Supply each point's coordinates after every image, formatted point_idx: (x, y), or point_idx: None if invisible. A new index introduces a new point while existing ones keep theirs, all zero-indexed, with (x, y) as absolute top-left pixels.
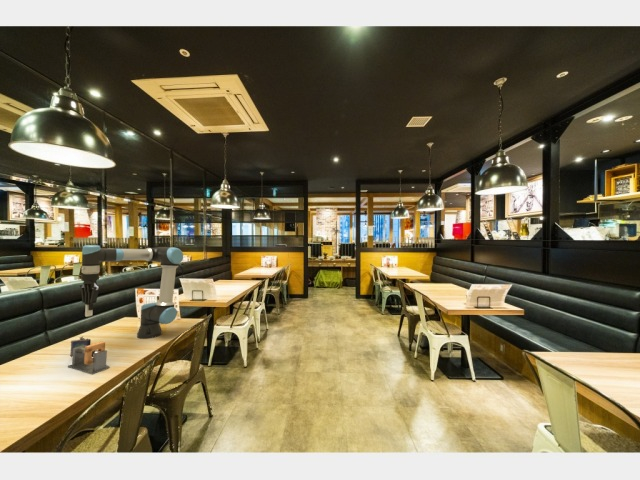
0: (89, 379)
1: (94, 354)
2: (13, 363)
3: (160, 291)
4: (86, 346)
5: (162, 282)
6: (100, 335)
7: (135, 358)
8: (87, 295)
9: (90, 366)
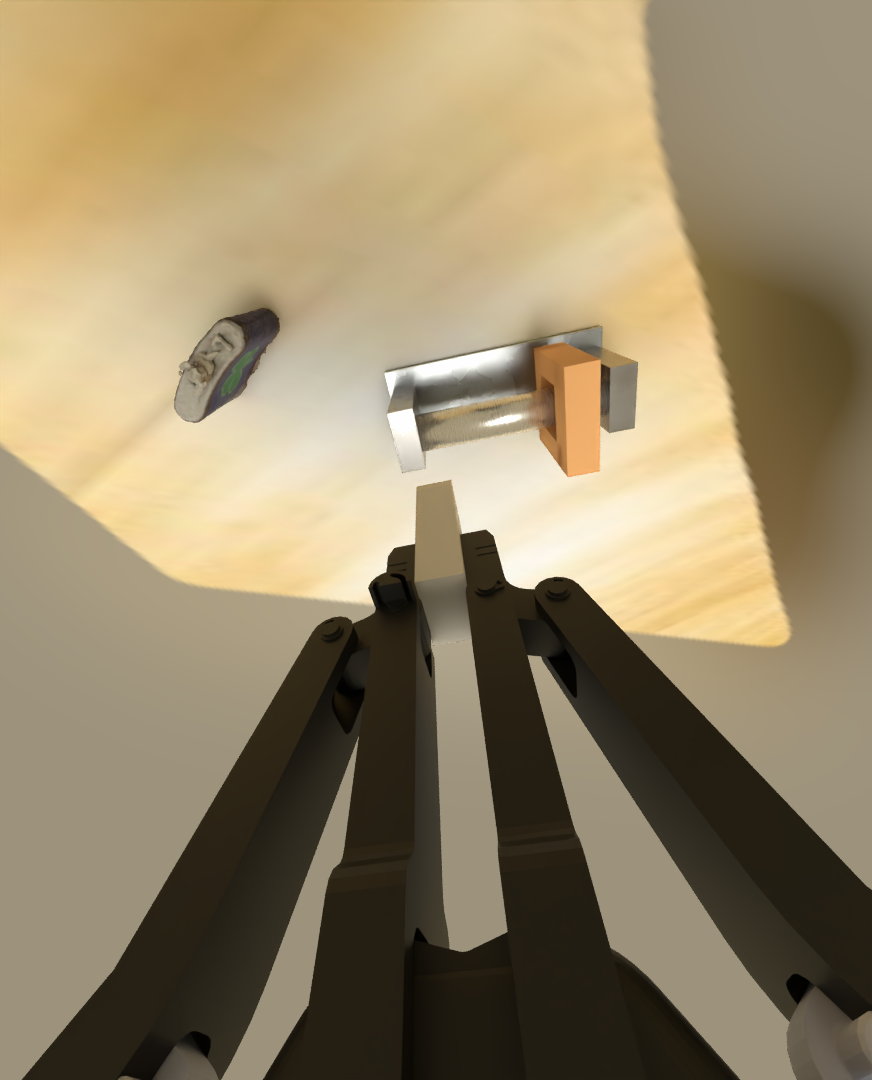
0: (637, 438)
1: (616, 429)
2: (170, 565)
3: None
4: (574, 472)
5: None
6: None
7: (613, 129)
8: (435, 784)
9: (510, 392)
